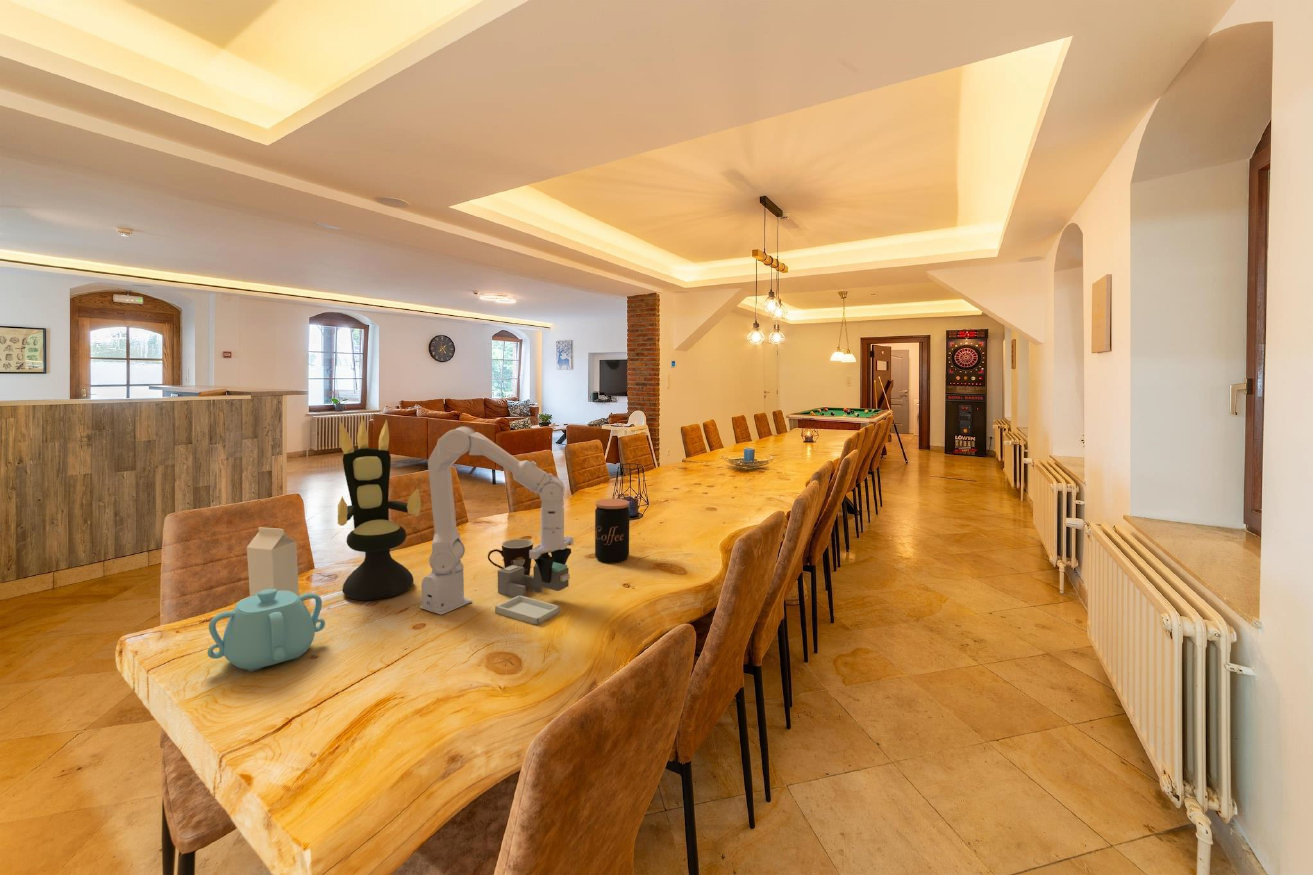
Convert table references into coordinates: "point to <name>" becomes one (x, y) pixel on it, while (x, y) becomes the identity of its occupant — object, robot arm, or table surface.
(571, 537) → the robot arm
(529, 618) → the tray
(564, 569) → the mint green tabbed block
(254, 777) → the table surface
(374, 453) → the black throne chair
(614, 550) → the coffee jar
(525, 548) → the coffee mug
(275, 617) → the decorative pot
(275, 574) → the milk carton
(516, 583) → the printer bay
